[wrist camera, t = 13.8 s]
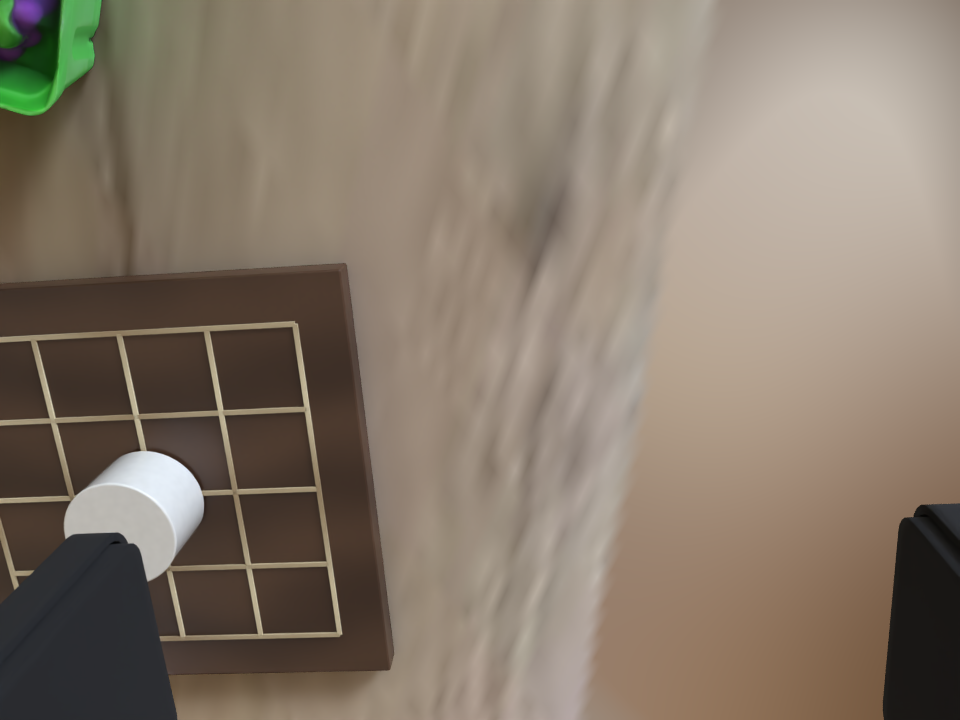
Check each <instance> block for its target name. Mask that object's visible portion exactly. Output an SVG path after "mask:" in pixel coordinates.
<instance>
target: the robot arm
mask: <svg viewBox="0 0 960 720" xmlns="http://www.w3.org/2000/svg"><path fill="white" fill-rule="evenodd" d="M883 716H884V720H960V504H932V505H920V506H919V507H918V508H917V509H916V511H915V513H914V517H909V518H904V519H902V521H901V523H900V525H899V531H898V542H897V553H896V563H895V575H894V586H893V597H892V608H891V619H890V630H889V641H888V652H887V664H886V674H885V685H884V696H883ZM0 720H177V713H176V708H175V704H174V699H173V695H172V690H171V686H170V681H169V677H168V672H167V668H166V663H165V659H164V654H163V650H162V645H161V641H160V636H159V632H158V627H157V623H156V618H155V614H154V609H153V605H152V600H151V596H150V591H149V587H148V582H147V578H146V573H145V569H144V564H143V560H142V555H141V552H140V549H139V548H138V546H137V545H135V544H134V543H128V542H127V540H126V538H125V537H124V536H123V535H122V534H120V533H119V532H115V533H86V534H72V535H71V536H69V537H68V538H67V539H66V540H65V541H64V542H63V543H62V544H61V545H60V546H59V547H58V548H57V549H56V550H55V551H54V552H53V553H52V554H51V555H50V556H49V557H48V558H46V559H45V560H44V561H43V562H42V563H41V564H40V565H39V566H38V567H37V568H36V569H35V570H34V571H33V572H32V573H31V574H30V575H29V576H28V577H27V578H26V579H25V580H24V581H23V582H22V583H21V584H20V585H19V586H18V587H17V588H16V589H15V590H14V591H13V592H12V593H11V594H10V595H9V596H8V597H7V598H6V599H5V600H4V601H3V602H2V603H1V604H0Z"/></svg>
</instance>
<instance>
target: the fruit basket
mask: <svg viewBox="0 0 960 720" xmlns="http://www.w3.org/2000/svg"><path fill="white" fill-rule="evenodd" d="M101 1H102V0H0V108H2V109H5V110H9V111H13V112H16V113H19V114H23V115H28V116H35V115H40V114H43V113H44V112H46V111H47V110H49V108H50V107H51V106H52V105H53V104H54V103H55V102H56V101H57V100H58V99H59V98H60V96H61V95H62V93H63V91H64V90H65V89H66V88H67V87H69V86H70V85H71V84H73V83H74V82H75V81H76V80H78V79H79V78H80V77H82V76H83V75H84V74H85V73H86V72H88V71H89V70H90V69H91V68H92V67H93V65H94V58H95V54H94V49H93V42H92V41H91V38H92V37H93V36H94V34H95V31H96V29H97V27H98V25H99V17H100V9H101Z"/></svg>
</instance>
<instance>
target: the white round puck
mask: <svg viewBox="0 0 960 720" xmlns="http://www.w3.org/2000/svg"><path fill="white" fill-rule="evenodd" d="M203 513H204V499H203V494H202V491H201V488H200V486H199V484H198V482H197V480H196V479H195V477H194V476H193V475H192V473H191V472H190V471H189V470H188V469H187V468H186V467H185V466H183V465H182V464H181V463H180V462H178V461H177V460H175V459H173V458H171V457H169V456H167V455H164V454H161V453H157V452H151V451H138V452H132V453H128V454H125V455H123V456H121V457H119V458H117V459H116V460H115V461H113V462H112V463H111V464H110V465H109V466H108V467H107V468H106V469H104V470H103V471H102V472H101V473H100V474H99V475H98V476H97V477H96V478H95V479H94V480H92V481H91V482H90V483H89V484H88V485H87V486H86V487H85V488H84V489H83V490H82V491H80V492H79V493H78V494H77V495H76V496H75V497H74V498H73V499H72V501H71V502H70V504H69V506H68V508H67V510H66V513H65V517H64V534H65V539H67V538H68V537H69V536H71V535H72V534H86V533H115V532H119V533H120V534H122V535H123V536H124V537H125V538H126V540H127V542H128V543H134V544H135V545H137V546H138V548H139V549H140V552H141V555H142V560H143V564H144V569H145V573H146V578H147V582H148V581H151V580H153V579H155V578H157V577H158V576H160V575H161V574H163V573H164V572H165V571H166V570H167V569H168V567H169V566H170V565H171V563H172V562H173V561H174V559H175V558H176V556H177V555H178V554H179V552H180V551H181V550H182V548H183V547H184V546H185V544H186V543H187V542H188V540H189V539H190V538H191V536H192V535H193V534H194V532H195V531H196V530H197V528H198V527H199V525H200V523H201V520H202V517H203Z"/></svg>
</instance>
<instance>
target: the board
mask: <svg viewBox="0 0 960 720" xmlns="http://www.w3.org/2000/svg"><path fill="white" fill-rule="evenodd" d="M138 451H151V452H157V453H161V454H164V455H167V456H169V457H171V458H173V459H175V460H177V461H178V462H180V463H181V464H182V465H183V466H185V467H186V468H187V469H188V470H189V471H190V472H191V473H192V475H193V476H194V477H195V479H196V480H197V482H198V484H199V486H200V488H201V491H202V494H203V499H204V513H203V517H202V520H201V523H200V525H199V527H198V528H197V530H196V531H195V532H194V534H193V535H192V536H191V538H190V539H189V540H188V542H187V543H186V544H185V546H184V547H183V548H182V550H181V551H180V552H179V554H178V555H177V556H176V558H175V559H174V561H173V562H172V563H171V565H170V566H169V567H168V569H167V570H166V571H165V572H164V573H163V574H161V575H160V576H158V577H157V578H155V579H153V580H151V581H148V587H149V591H150V596H151V600H152V605H153V609H154V614H155V618H156V623H157V627H158V632H159V636H160V641H161V645H162V650H163V654H164V659H165V663H166V668H167V672H168V675H184V674H234V673H283V672H332V671H381V670H390V668H391V664H392V660H393V656H394V648H393V640H392V632H391V624H390V615H389V607H388V599H387V591H386V583H385V575H384V566H383V558H382V550H381V542H380V534H379V526H378V517H377V509H376V501H375V493H374V485H373V476H372V468H371V460H370V452H369V444H368V436H367V427H366V419H365V411H364V403H363V395H362V387H361V378H360V370H359V362H358V354H357V346H356V338H355V329H354V321H353V313H352V305H351V297H350V289H349V280H348V272H347V265H346V264H344V263H342V264H325V265H308V266H291V267H274V268H257V269H240V270H224V271H207V272H190V273H173V274H156V275H139V276H122V277H105V278H88V279H71V280H54V281H38V282H21V283H4V284H0V604H1V603H2V602H3V601H4V600H5V599H6V598H7V597H8V596H9V595H10V594H11V593H12V592H13V591H14V590H15V589H16V588H17V587H18V586H19V585H20V584H21V583H22V582H23V581H24V580H25V579H26V578H27V577H28V576H29V575H30V574H31V573H32V572H33V571H34V570H35V569H36V568H37V567H38V566H39V565H40V564H41V563H42V562H43V561H44V560H45V559H46V558H48V557H49V556H50V555H51V554H52V553H53V552H54V551H55V550H56V549H57V548H58V547H59V546H60V545H61V544H62V543H63V542H64V541H65V540H66V539H65V534H64V517H65V513H66V510H67V508H68V506H69V504H70V502H71V501H72V499H73V498H74V497H75V496H76V495H77V494H78V493H79V492H80V491H82V490H83V489H84V488H85V487H86V486H87V485H88V484H89V483H90V482H91V481H92V480H94V479H95V478H96V477H97V476H98V475H99V474H100V473H101V472H102V471H103V470H104V469H106V468H107V467H108V466H109V465H110V464H111V463H112V462H113V461H115V460H116V459H117V458H119V457H121V456H123V455H125V454H128V453H132V452H138Z"/></svg>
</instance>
